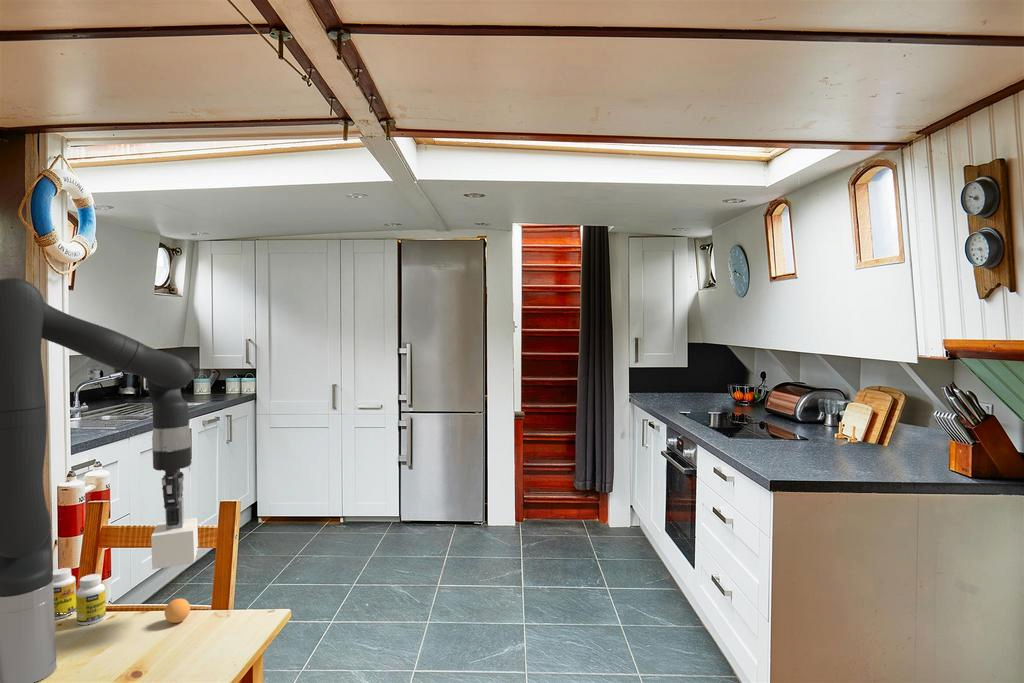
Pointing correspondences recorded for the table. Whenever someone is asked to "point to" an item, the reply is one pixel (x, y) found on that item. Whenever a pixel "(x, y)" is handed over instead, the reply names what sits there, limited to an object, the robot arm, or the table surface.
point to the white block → (175, 541)
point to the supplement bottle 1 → (64, 592)
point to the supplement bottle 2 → (90, 600)
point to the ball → (177, 610)
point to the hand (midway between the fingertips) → (174, 522)
